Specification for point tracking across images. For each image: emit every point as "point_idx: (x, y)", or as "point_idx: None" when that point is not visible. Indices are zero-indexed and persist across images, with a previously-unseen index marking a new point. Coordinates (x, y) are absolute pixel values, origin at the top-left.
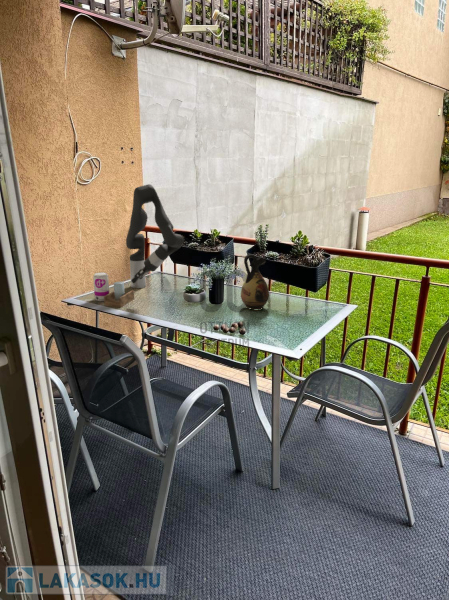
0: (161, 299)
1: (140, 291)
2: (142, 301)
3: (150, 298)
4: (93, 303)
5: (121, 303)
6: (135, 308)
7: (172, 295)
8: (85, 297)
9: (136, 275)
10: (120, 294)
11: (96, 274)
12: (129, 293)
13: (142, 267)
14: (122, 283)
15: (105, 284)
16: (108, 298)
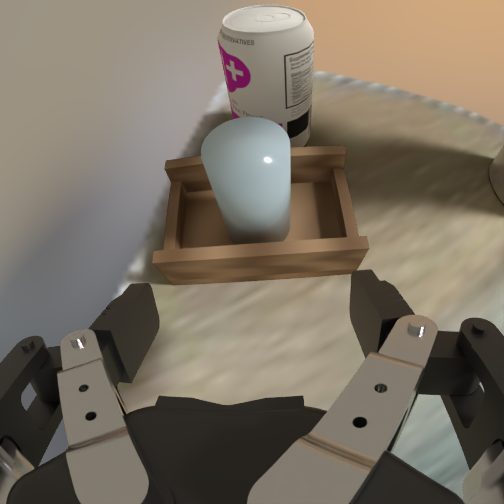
0: (411, 439)
1: (477, 233)
2: (329, 351)
3: None
4: (201, 137)
5: (171, 277)
6: (177, 376)
7: None
8: None
9: (34, 371)
10: (226, 219)
11: (248, 12)
12: (293, 255)
13: (74, 485)
14: (241, 175)
15: (249, 88)
16: (199, 177)
